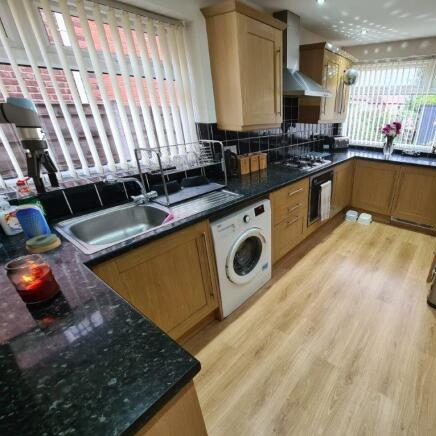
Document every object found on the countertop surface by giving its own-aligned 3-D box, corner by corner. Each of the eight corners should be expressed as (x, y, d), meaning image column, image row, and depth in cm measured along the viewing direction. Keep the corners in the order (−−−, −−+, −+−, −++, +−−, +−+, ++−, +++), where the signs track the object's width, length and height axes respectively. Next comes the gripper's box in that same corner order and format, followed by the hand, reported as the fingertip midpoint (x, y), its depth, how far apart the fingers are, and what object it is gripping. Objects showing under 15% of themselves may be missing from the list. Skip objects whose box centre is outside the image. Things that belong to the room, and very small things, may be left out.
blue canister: (26, 243, 112) (10, 211, 105) (29, 236, 118) (13, 205, 111) (51, 237, 117) (37, 206, 110) (52, 231, 123) (39, 201, 116)
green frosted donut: (20, 254, 104) (16, 246, 102) (41, 241, 114) (37, 233, 112) (49, 252, 105) (45, 244, 103) (67, 239, 115) (63, 232, 113)
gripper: (29, 139, 91) (47, 195, 98) (57, 139, 112) (70, 184, 119) (2, 139, 88) (22, 197, 95) (35, 139, 109) (50, 185, 116)
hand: (49, 190), depth 107 cm, fingers open, 13 cm apart
